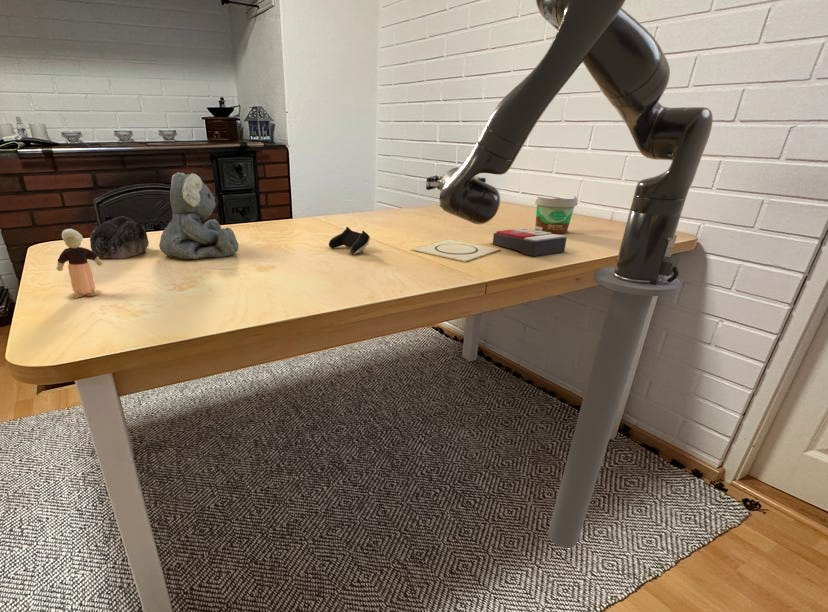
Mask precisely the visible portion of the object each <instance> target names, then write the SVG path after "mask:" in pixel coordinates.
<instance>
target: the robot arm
mask: <svg viewBox="0 0 828 612" xmlns="http://www.w3.org/2000/svg"><path fill="white" fill-rule="evenodd" d="M625 2H626V0H535V4H536V7H537V9H538V12H539V14H540V16H541V17H542V18H543V19H544V20H545V21H546V22H548V23H549V24H550V25H551V26H552V27H553V28H554V29H555V30H557V31H556V34H555V36H554V38H553V39H552V42H551V44H550V46H549V47H548V49H547V51H546V53H545V54H544V56H543V57H542V58H541V60H540V61H539V62H538V64H536V66H535V67H534V68H533V70H532V71H530V73H529V74H528V75H527V76H526V77H524V79H522V80H521V81H520V82H519V84H517V85H516V86H515V87H513V89H511V90H510V91H509V92H508V93H507V94H506V95H505V96H504V97H503V98H502V99H501V100H500V101H499V103H498V104H497V105H496V106H495V108H494V110H493V111H492V113H491V114H490V116H489V117H488V119H487V121H486V124H485V126H484V128H483V130H482V131H481V133H480V135H479V137H478V139H477V141H476V143H475V146H473V148H472V150H471V152H470V153H469V155H468V156H467V157H466V158H465V160H464V161H463V162H462V164H461V165H460V166H459V167H454V168H451V169H449V170H448V172H447V171H446V172H445V174H442V175H440V176H439V175H437V174H435V175H433V176H429V177H426V183H425V190H427V191H430V190H435V189H437V190H439V198H438V199H439V200H438V201H439V207H440V206H441V207H440V208H441V209H442V211H444V212H446V213H448V214H450V215H453V216H455V217H458V218H459V219H462V220H465V221H467V222H469V223H471V224H475V225H485V224H487V223H488V222H490V221H492V220H493V219H494V217H495V216H496V214H497V213H498V211H499V208H500V205H501V194H500V191H499V190H498V188H497V187H495V186H493V185H492V184H489V183H487V182H486V181H487V178H485V177H480V176H477V175H479V174H490V175H496V176H497V175H499V176H500V175H505V174H506V173H508V171H509V170H510V169H511V167H512V166H513V164H514V162H515V161H516V159H517V157H518V156H519V154H520V152H521V150H522V149H523V147H524V145H525V143H526V142H527V140H528V138H529V137H530V135H531V133H532V131H533V130H534V128H535V127H536V125H537V124H538V122H539V120H540V119H541V117H542V116H543V115H544V113H545V112H546V110H547V109H548V107H549V106H550V105H551V103H552V102H553V101H554V99H555V98H556V97H557V95H558V94H559V93H560V91H562V89H563V88H564V87H565V86H566V84H567V83H568V81H570V78H572V76H573V75H574V73H575V72H576V71H577V70H578V68H579V67H580V65H582V64H583V65H584V67H585V68H586V70H587V71H588V73H589V74H590V76H591V77H592V79H593V80H594V82H595V84H596V85H597V87H598V88H599V90H600V91H601V93H602V94H603V95H604V97H605V98H606V99H607V100H608V101H607V102H609V104H610V105H611V106H612V107H613V108H614V109H615V110H616V112H617V113H618V115H619V116H620V117H621V119H622V120H623V123H624V124H625V125H626V127H627V129H628V131H629V133H630V134H631V137H632V140H633V141H634V143H635V146H636V148H637V149H638V151H639V153H640V154H641V155H642V156H643V157H644V158H647V159H650V160H660V161H671V163H670V165H669V167H668V168H667V170H665V171H663V172H662V173H660V174H658V175H654V176H651V177H647V178H642V179H641V180H639V181H638V182H637V184H636V186H635V189H634V193H633V196H632V200H631V205H630V209H629V211H628V212H629V213H628V215H627V220H626V223H625V228H624V232H623V235H622V238H621V243H620V247H619V249H618V250H619V251H618V255H617V258H616V262H615V265H614V267H615V270H614V272H613V276H614V277H616V278H618V279H621V280H624V281H628V282H633V283H641V284H652V285H656V284H658V283H659V282H661V281H662V280H663V279H664V276H669V275H670V276H672V277H671V278H669V279H668V280H667V281H668V282H672V281H673V280H675V279H676V278H677V279H678V276H679V273H680V272H679V268H678V264H679V261H680V258H678V257H672V254H673V250H674V247H675V245H676V244H675V243H676V241H677V237H678V235H676V232H677V229H678V226H679V222H680V220H681V216H682V213H683V209H684V206H685V202H686V200H687V197H688V194H689V191H690V189H691V186H692V184H693V182H694V180H695V177H696V174H697V172H698V168H699V165H700V163H701V160H702V157H703V155H704V152H705V149H706V147H707V144H708V141H709V138H710V136H711V132H712V127H713V122H714V121H713V119H714V117H713V113H712V111H711V109H710V108H708V107H703V106H700V107H699V106H688V107H687V106H686V107H668V106H663V105H662V104H661V103H660V102H659V101H660V100H661V98H662V96H664V95H663V94H664V93H665V91H666V89H667V87H668V84H669V81H670V76H671V68H670V64H669V61H668V59H667V57H666V55H665V53H664V52H663V50H662V48H661V45H660V44H659V43H658V41H657V40H656V39H655V37H654V35H653V34H651V32H649V31H648V29H646V28H645V27H644V26H643V25H642V24H641V23H640V22H639V21H638V20H637V19H636V18H634V17H633V15H631V14H629V13H628V12H627V11H626V10H624V8H622V7H623V6H624V4H625ZM672 274H673V275H672Z"/></svg>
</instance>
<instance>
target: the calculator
mask: <svg viewBox="0 0 828 612" xmlns="http://www.w3.org/2000/svg"><path fill="white" fill-rule="evenodd" d="M492 245H494V246H498V247H502V248H506V249H511V250H515V251H519V252H520V253H521V254H522V255H525V256H529V257H537V256H544V255H551V254H557V253H558V254H559V253H564V252H565V250H566V245H567V237H566V236H565V235H563V234H552V233H550V232H544V231H536V230H535V229H532V228H528V227H527V228H526V227H521V228H520V227H519V228H512V229H505V230H504V229H503V230H497V231H495V232H494V233H493V237H492Z"/></svg>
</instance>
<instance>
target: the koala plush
mask: <svg viewBox="0 0 828 612" xmlns="http://www.w3.org/2000/svg"><path fill="white" fill-rule="evenodd" d="M170 183H171V184H170V185H171V186H170V190H169V201H170V205H171V206H170V207H171V211H172V218H171V220H170V221H169V223H167V225H166V227H165V228H164V230H163V231H162V233H161V235H160V239H159V244H158V247H159V250H160V252H161V253H163V254H164V255H165V256H167V257H169V258H179V259H182V260H198V259H202V258H225V257H230V256H233V255H235V254H236V253H238V251H239V243H238V239H237V237H236V233H235V232H234V230H233V229H232V228H231V227H227V226H226V227H223V228H222V226H221V224H220V223H219V222H218V220H216V219H214V218H213V219H209V218H210V217H211V215H212V214H213V212H214V210H215V208H216V207H217V206H218V204H219V200H218V196H216V195H215V194H213V193H212V192H211V189H210V188H209V186H207V185H206V184H205V183H204V182H203V181H202V179H201V176H199V175H197V174H196V173H193V172H191V173H190V174H189V173H187V174H185V172H179V171H178V172H176V173H175V174H172V176H171V181H170ZM207 219H208V220H207ZM206 220H207V221H206ZM204 221H206V222H204ZM202 222H204V224H203V223H202Z"/></svg>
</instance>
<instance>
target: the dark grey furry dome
mask: <svg viewBox="0 0 828 612" xmlns="http://www.w3.org/2000/svg"><path fill="white" fill-rule="evenodd" d="M89 237H90V238H89V242H90V243H89V244H90V246H89V247H90V250H91V251H93V252H94V253H96V254H97V256H98V257H99V259H127V258H131V257H134V256H137V255H139V254H141V253H143V252H145V251H146V250H147V249H148V247H149V244H150V242H149V241H150V240H149V238H148V233H147V230H146V228H145V226H144V225H143V224H141V223H137V222H136V221H134V220H133V219H131V218H129V217H127V216H125V215H119V216H117V217H114V218H111V219H109V220H106V221H104V222H102V223H101V224H99V225H98V226H96V227H95V228H94V229H93V230H92V231H91V233H90V234H89Z"/></svg>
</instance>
